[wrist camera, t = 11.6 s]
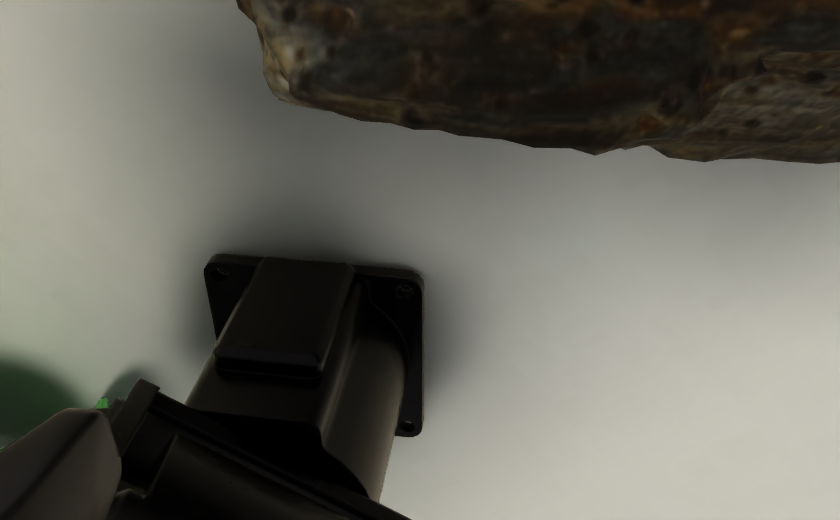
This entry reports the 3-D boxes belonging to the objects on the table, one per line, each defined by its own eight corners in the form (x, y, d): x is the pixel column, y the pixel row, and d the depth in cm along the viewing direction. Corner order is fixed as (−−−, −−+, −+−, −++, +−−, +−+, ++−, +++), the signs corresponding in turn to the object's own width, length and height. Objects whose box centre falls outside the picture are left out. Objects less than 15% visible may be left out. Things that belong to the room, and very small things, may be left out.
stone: (368, 155, 21) (1016, 61, 18) (288, 351, 14) (1312, 255, 11) (290, -140, 17) (1082, -322, 14) (134, -68, 11) (1585, -387, 7)
